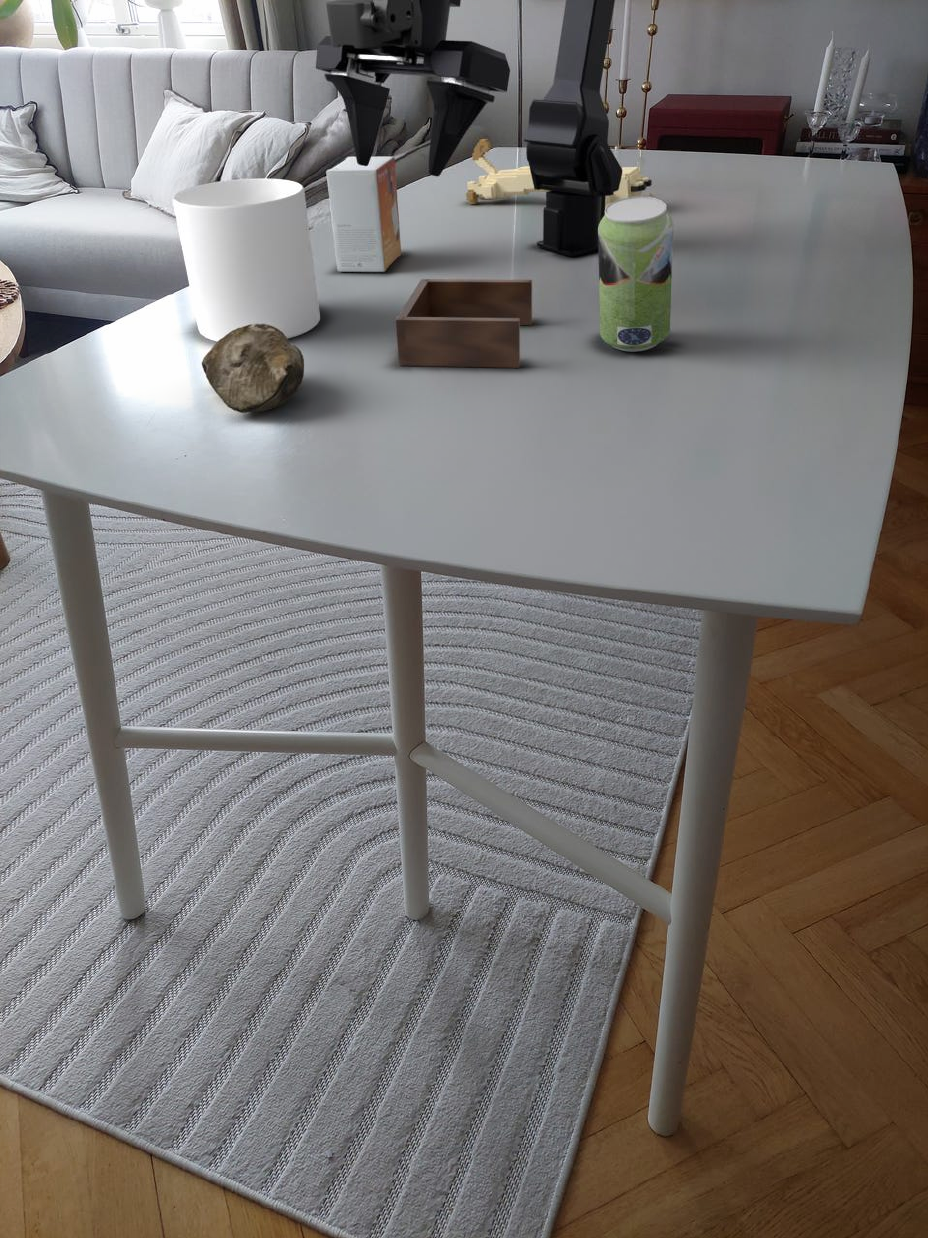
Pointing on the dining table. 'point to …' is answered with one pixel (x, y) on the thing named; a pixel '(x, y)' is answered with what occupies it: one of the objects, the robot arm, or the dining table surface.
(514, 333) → the case
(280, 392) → the fossilized seashell
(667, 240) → the beverage can
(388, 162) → the small box
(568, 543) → the dining table surface
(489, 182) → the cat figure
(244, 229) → the cup
